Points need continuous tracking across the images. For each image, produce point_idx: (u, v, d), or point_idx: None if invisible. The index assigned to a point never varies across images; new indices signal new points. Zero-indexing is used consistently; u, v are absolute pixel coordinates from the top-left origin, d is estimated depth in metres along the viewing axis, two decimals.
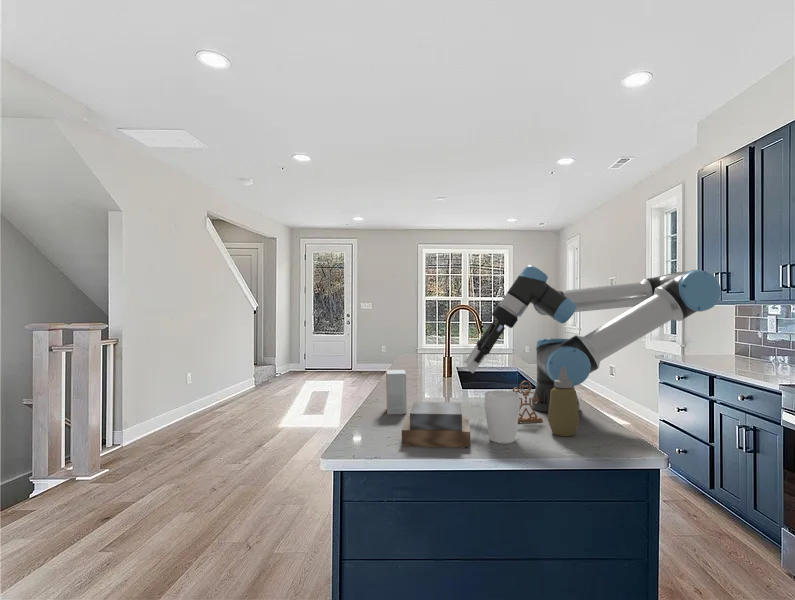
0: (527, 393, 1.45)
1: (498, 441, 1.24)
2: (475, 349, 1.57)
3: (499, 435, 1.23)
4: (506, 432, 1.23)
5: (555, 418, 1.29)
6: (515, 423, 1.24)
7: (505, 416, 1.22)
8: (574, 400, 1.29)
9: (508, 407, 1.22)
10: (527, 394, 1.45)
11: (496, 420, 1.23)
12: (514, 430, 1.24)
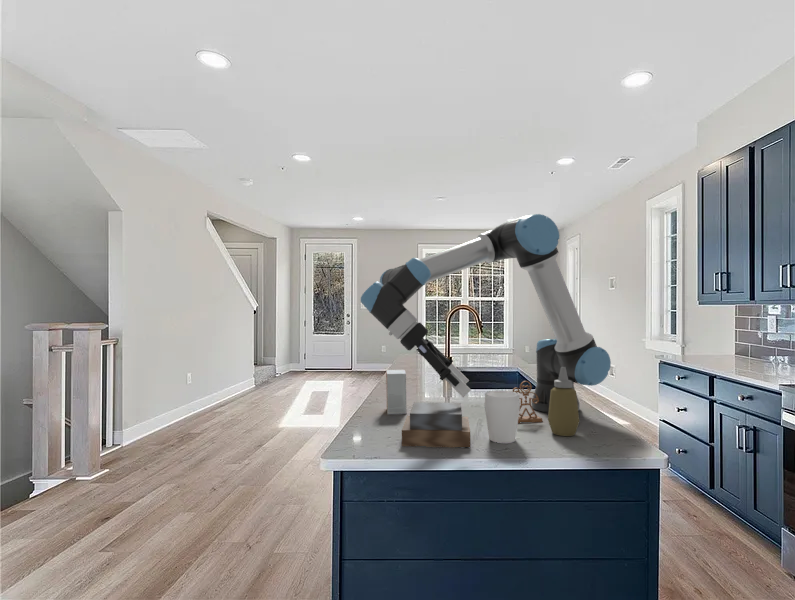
0: (527, 393, 1.45)
1: (498, 441, 1.24)
2: None
3: (499, 435, 1.23)
4: (506, 432, 1.23)
5: (555, 418, 1.29)
6: (515, 423, 1.24)
7: (505, 416, 1.22)
8: (574, 400, 1.29)
9: (508, 407, 1.22)
10: (527, 394, 1.45)
11: (496, 420, 1.23)
12: (514, 430, 1.24)
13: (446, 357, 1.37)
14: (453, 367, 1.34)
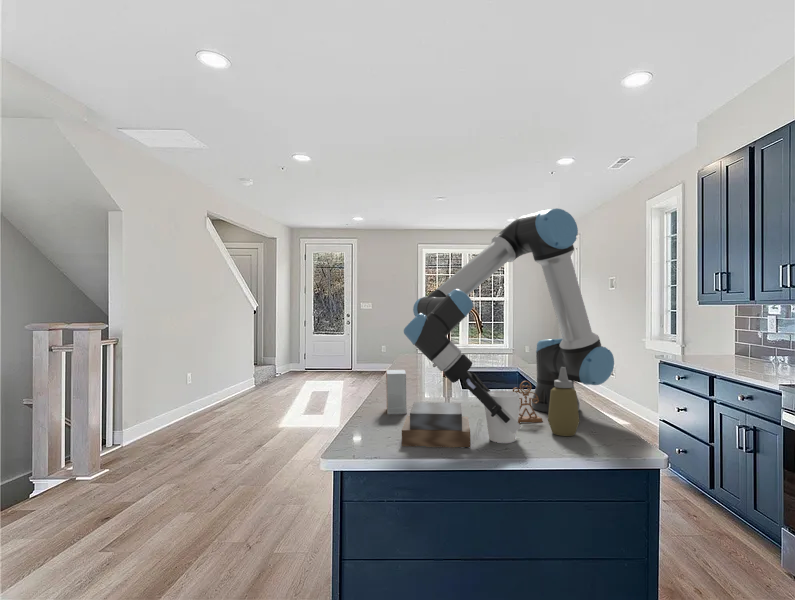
0: (527, 393, 1.45)
1: (498, 441, 1.24)
2: None
3: (499, 435, 1.23)
4: (505, 432, 1.23)
5: (555, 418, 1.29)
6: None
7: None
8: (574, 400, 1.29)
9: (508, 407, 1.22)
10: (527, 394, 1.45)
11: (496, 420, 1.23)
12: None
13: None
14: None
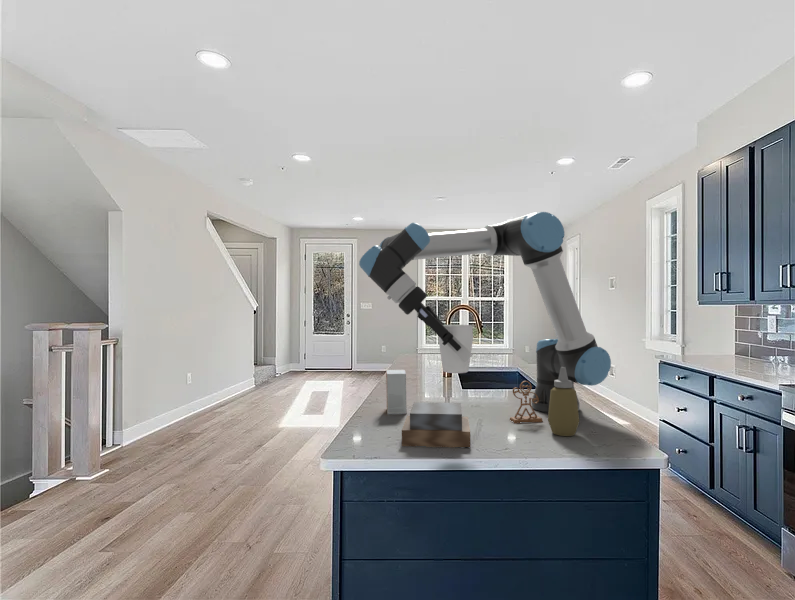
0: (527, 393, 1.45)
1: (450, 371, 1.24)
2: None
3: (451, 365, 1.24)
4: (458, 362, 1.24)
5: (555, 418, 1.29)
6: None
7: None
8: (574, 400, 1.29)
9: (460, 336, 1.23)
10: (527, 394, 1.45)
11: (448, 350, 1.24)
12: (467, 361, 1.25)
13: None
14: None
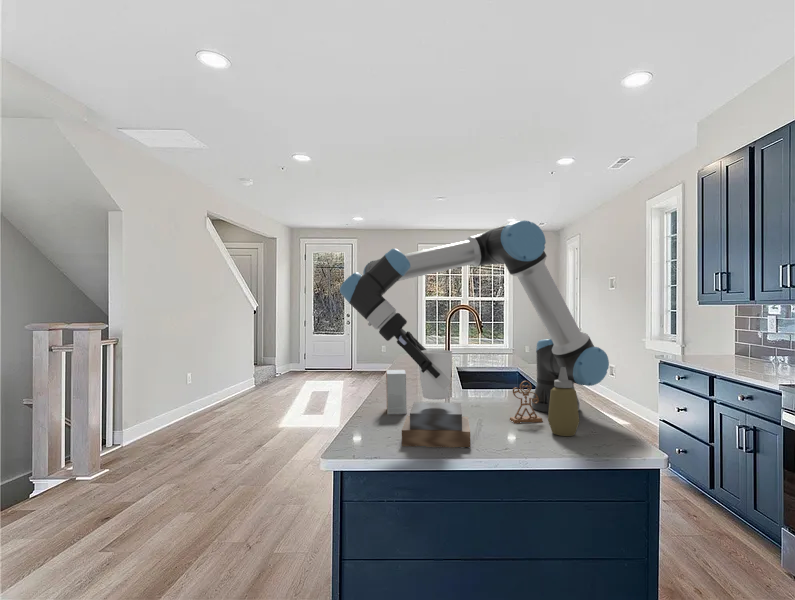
0: (527, 393, 1.45)
1: (430, 397, 1.25)
2: None
3: (430, 391, 1.25)
4: (437, 388, 1.25)
5: (555, 418, 1.29)
6: None
7: None
8: (574, 400, 1.29)
9: (439, 363, 1.24)
10: (527, 394, 1.45)
11: (427, 376, 1.25)
12: (446, 387, 1.26)
13: None
14: None
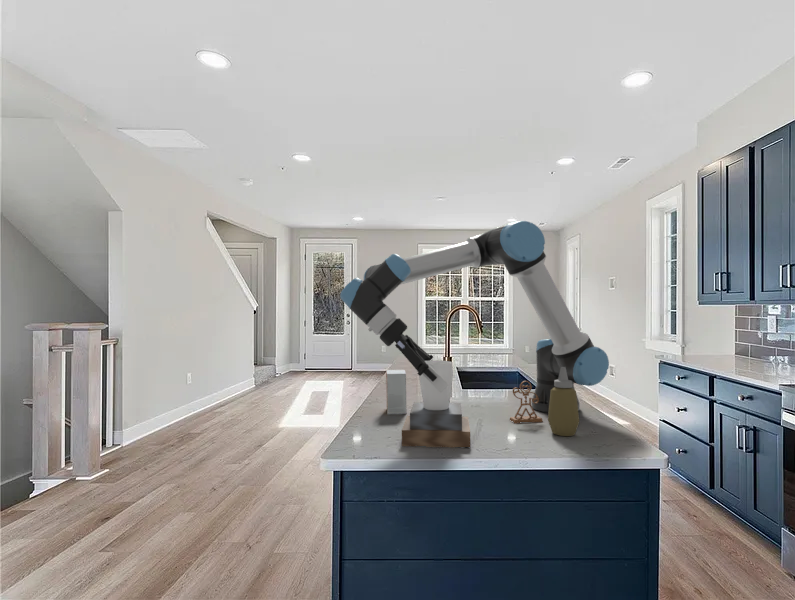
0: (527, 393, 1.45)
1: (430, 408, 1.25)
2: None
3: (431, 402, 1.25)
4: (437, 400, 1.25)
5: (555, 418, 1.29)
6: (447, 391, 1.26)
7: None
8: (574, 400, 1.29)
9: (440, 374, 1.24)
10: (527, 394, 1.45)
11: (428, 388, 1.25)
12: (447, 398, 1.26)
13: (426, 353, 1.38)
14: None
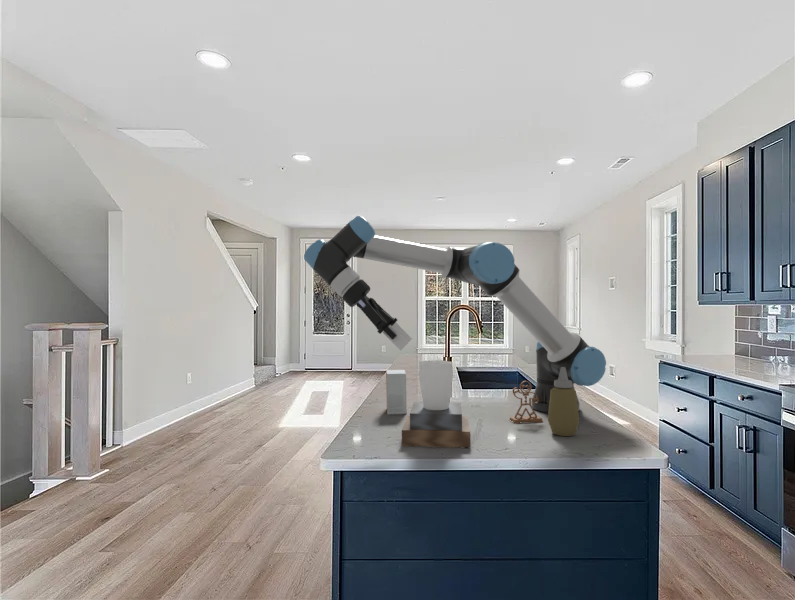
0: (527, 393, 1.45)
1: (430, 408, 1.25)
2: None
3: (431, 402, 1.25)
4: (437, 400, 1.25)
5: (555, 418, 1.29)
6: (447, 391, 1.26)
7: (437, 384, 1.24)
8: (574, 400, 1.29)
9: (440, 374, 1.24)
10: (527, 394, 1.45)
11: (428, 388, 1.25)
12: (447, 398, 1.26)
13: None
14: (397, 325, 1.36)
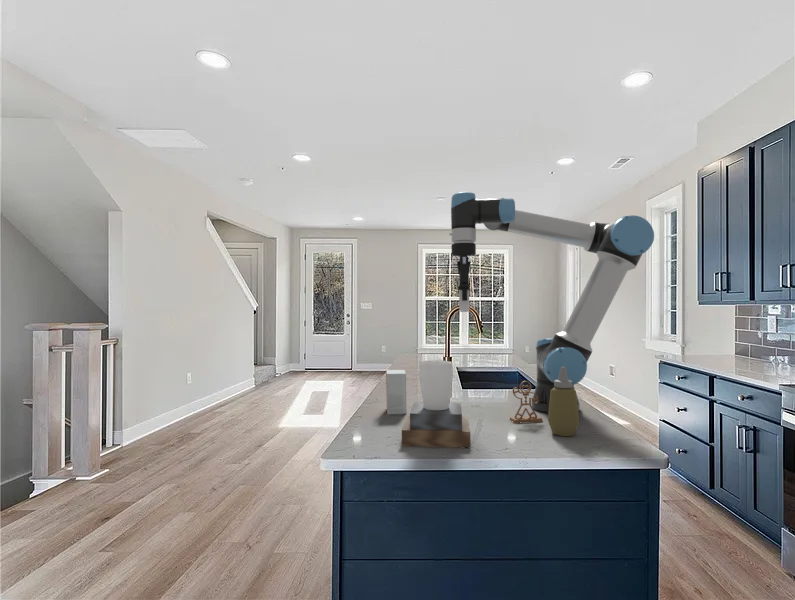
0: (527, 393, 1.45)
1: (430, 408, 1.25)
2: None
3: (431, 402, 1.25)
4: (437, 400, 1.25)
5: (555, 418, 1.29)
6: (447, 391, 1.26)
7: (437, 384, 1.24)
8: (574, 400, 1.29)
9: (440, 374, 1.24)
10: (527, 394, 1.45)
11: (428, 388, 1.25)
12: (447, 398, 1.26)
13: None
14: None
